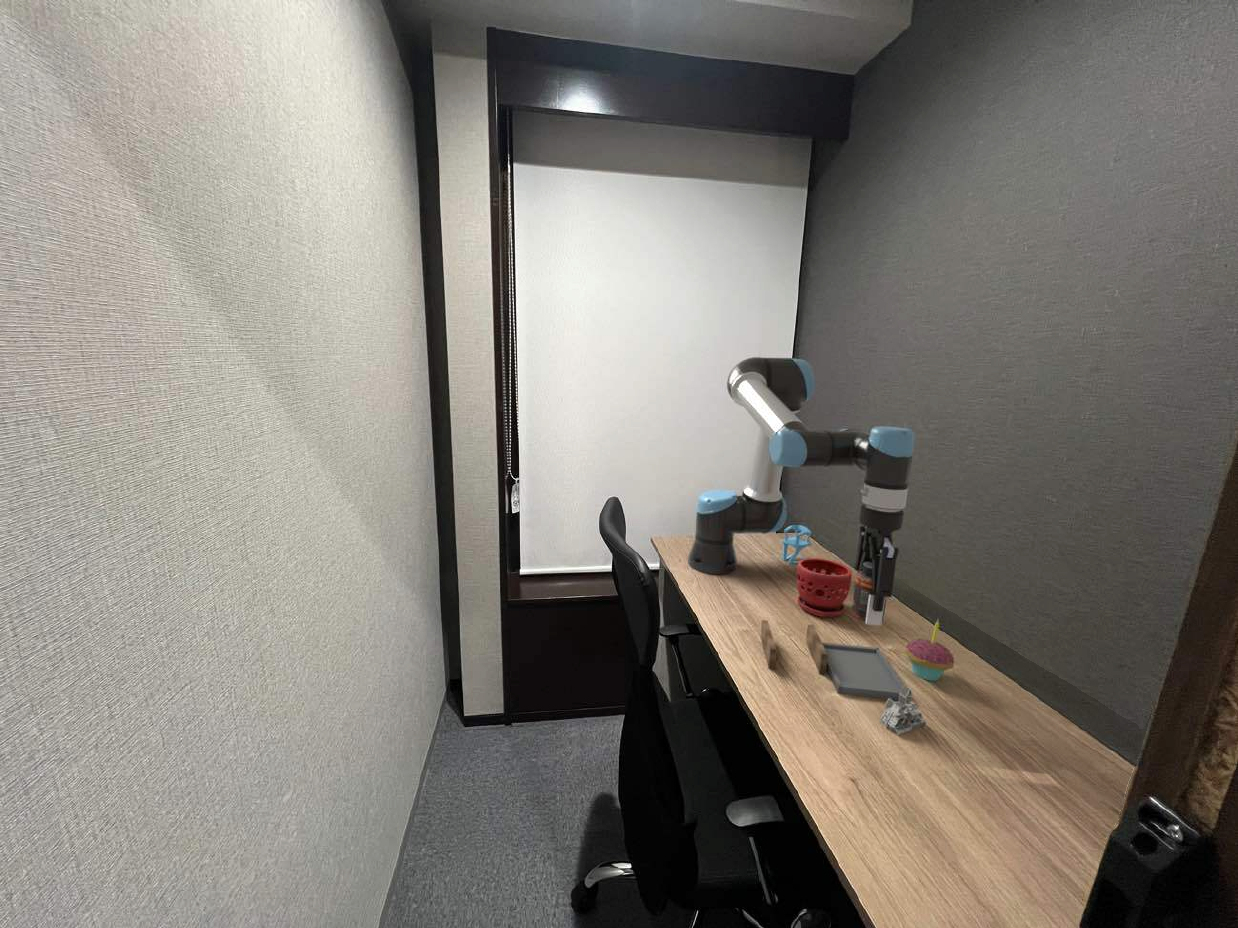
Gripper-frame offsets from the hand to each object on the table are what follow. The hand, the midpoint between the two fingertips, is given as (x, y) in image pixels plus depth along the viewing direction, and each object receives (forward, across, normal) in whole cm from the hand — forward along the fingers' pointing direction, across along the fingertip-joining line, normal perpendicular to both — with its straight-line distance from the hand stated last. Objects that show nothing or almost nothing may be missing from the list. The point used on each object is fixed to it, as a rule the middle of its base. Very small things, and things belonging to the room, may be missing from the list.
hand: (867, 615), depth 102 cm
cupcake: (+13, -2, +14) cm, 19 cm away
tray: (+13, 0, 0) cm, 13 cm away
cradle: (+13, -4, -13) cm, 19 cm away
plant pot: (+13, -28, -1) cm, 31 cm away
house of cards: (+14, +12, +2) cm, 18 cm away
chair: (+13, -60, -1) cm, 62 cm away
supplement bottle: (+1, 0, 0) cm, 1 cm away
